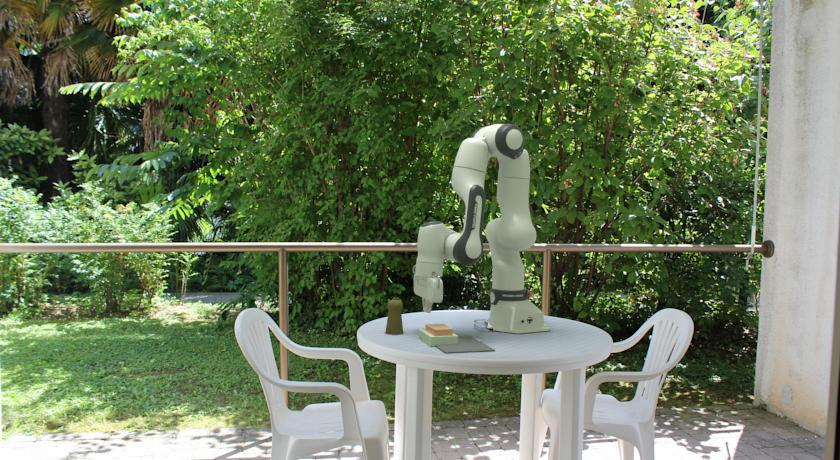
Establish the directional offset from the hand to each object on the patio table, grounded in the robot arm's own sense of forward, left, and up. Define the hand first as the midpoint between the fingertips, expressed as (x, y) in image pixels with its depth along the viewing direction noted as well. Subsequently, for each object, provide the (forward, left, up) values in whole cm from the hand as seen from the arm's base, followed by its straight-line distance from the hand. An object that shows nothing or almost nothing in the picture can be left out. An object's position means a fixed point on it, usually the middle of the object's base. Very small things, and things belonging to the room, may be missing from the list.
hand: (426, 312), depth 237 cm
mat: (-6, +15, -8) cm, 18 cm away
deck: (-1, +10, -8) cm, 13 cm away
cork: (+9, -6, -8) cm, 14 cm away
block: (-1, +10, -5) cm, 11 cm away
